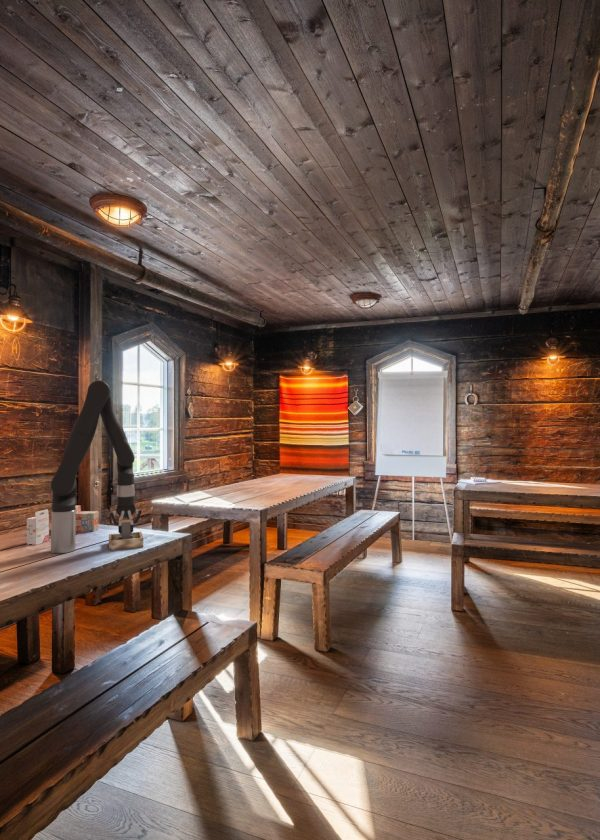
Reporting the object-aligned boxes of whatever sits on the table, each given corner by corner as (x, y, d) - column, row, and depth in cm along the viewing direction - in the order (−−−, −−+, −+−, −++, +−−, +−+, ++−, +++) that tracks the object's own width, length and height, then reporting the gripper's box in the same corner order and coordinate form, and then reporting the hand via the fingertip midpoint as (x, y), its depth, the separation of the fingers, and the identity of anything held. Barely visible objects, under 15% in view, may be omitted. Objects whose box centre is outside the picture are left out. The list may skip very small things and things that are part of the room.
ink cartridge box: (39, 540, 226) (40, 508, 226) (49, 540, 225) (49, 508, 225) (26, 544, 218) (26, 511, 218) (35, 545, 217) (35, 512, 217)
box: (109, 550, 208) (109, 541, 208) (108, 543, 220) (108, 534, 220) (143, 547, 213) (143, 538, 213) (141, 540, 225) (141, 531, 225)
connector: (121, 539, 214) (121, 519, 214) (121, 537, 217) (121, 517, 217) (130, 538, 215) (130, 518, 215) (130, 536, 219) (130, 517, 219)
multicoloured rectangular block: (98, 529, 249) (98, 505, 249) (93, 532, 243) (93, 507, 243) (57, 529, 249) (57, 505, 249) (51, 532, 243) (51, 507, 243)
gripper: (108, 497, 210) (108, 536, 210) (143, 495, 216) (143, 533, 216) (108, 494, 217) (108, 533, 217) (141, 492, 223) (142, 530, 223)
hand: (126, 533), depth 216 cm, fingers closed on connector, 3 cm apart
